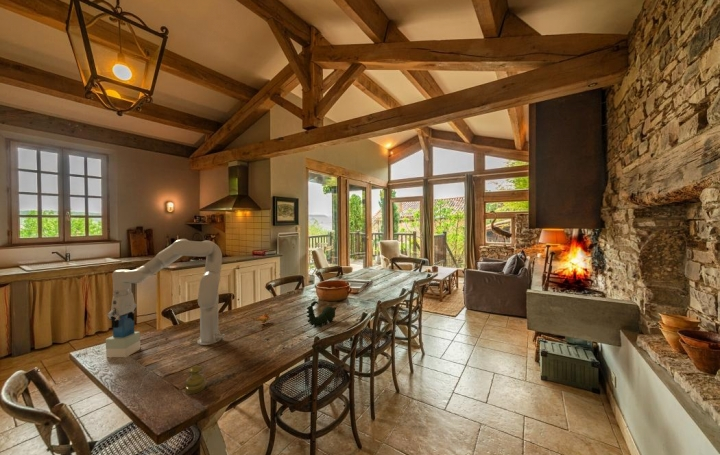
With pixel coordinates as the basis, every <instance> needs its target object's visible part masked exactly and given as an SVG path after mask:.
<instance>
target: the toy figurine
mask: <svg viewBox="0 0 720 455" xmlns="http://www.w3.org/2000/svg"><path fill="white" fill-rule="evenodd" d="M316 304H317V305H319V302H318V301H316V300H314V301H312V302H311V304H310V305H308V307H306V313H307V315H306V317H307V318H308V319H307V322H308V323H310V326H313V327H314V328H317V327H318V325H319V327H320V326H322V327H323V324H324V325H328V323H329V321H332V322H333V321H334V319H335V318H336V309H337V306H336V307H332V306H330V305H329V306H325V307H324V308H323V309H322V310H321V313H319V314H318V316H316V313H314V312H315V311H314V306H315V305H316Z"/></svg>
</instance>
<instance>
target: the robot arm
mask: <svg viewBox="0 0 720 455" xmlns="http://www.w3.org/2000/svg"><path fill="white" fill-rule="evenodd" d="M183 256H186V257H200V258H201V257H205V259H206V260H205V266H204V271H203V272H204V273H203V275H202V276H201V277H200V281H199V288H198V295H197V304H198V306H199V322H200V323H199V327H200V328H199V329H200V331H199V339H197V340H196V342H197V345H199V346H200V345H201V346H208V345H213V344H216V343H218V342H221V340H224V339H225V333H221V331H220V330H219V286H220V281H221V273H222V272H221V270H222V261H223V254H222V250H221V248H220V246H219V245H217V243H215V242H214V241H211V240H207V239H206V240H202V241H198V240H197V241H196V240H188V239H187V238H180V239H177V240H175V241H174V242H173V243H172V244H170V245H169V246H167V247H166V248H164V249H162V250H160V251H159V252H158V253H157V254H156V255H155V256H154V257H153V258H152V259H151V260H149V261H147V262H146V263H145V264H143V265H141V266H139V267H138V268H135V269H132V270H130V269H126V268H124V269H123V268H122V269H116V270H114V271H112V299H111V306H110V307H111V308H110V309H111V310H109V312H107V314H106V316H107V318H108V319H109V320H110V322H111V328H112V329H113V328H118V327H119V319H120V316H121V315H124V314H128V317H127V318H131V319H132V320H133V321H134V322H135V312H136V309H137V305H138V304H137V303H136V302H135V298H134V294H133V292H132V284H140V283H142V282H144V281H146V280H148V279H149V278H150V277H153V275H155V274H157V273H158V272H159V271H160V270H163V269H164V268H166V267H169V266H170V265H171V264H173V263H174V262H176V261H177V260H178V259H180V258H181V257H183Z"/></svg>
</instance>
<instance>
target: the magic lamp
mask: <svg viewBox="0 0 720 455" xmlns="http://www.w3.org/2000/svg"><path fill="white" fill-rule="evenodd" d="M268 309H269V310H268V313H266V312H264V313H263V315H262V316H259V317H251V319H253V320H256V321H258V322H261V323H265V322H268V321H269V320H270V315H271V314H272V313H273V308H272V305H270V306H269V308H268ZM270 311H271V312H270Z"/></svg>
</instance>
